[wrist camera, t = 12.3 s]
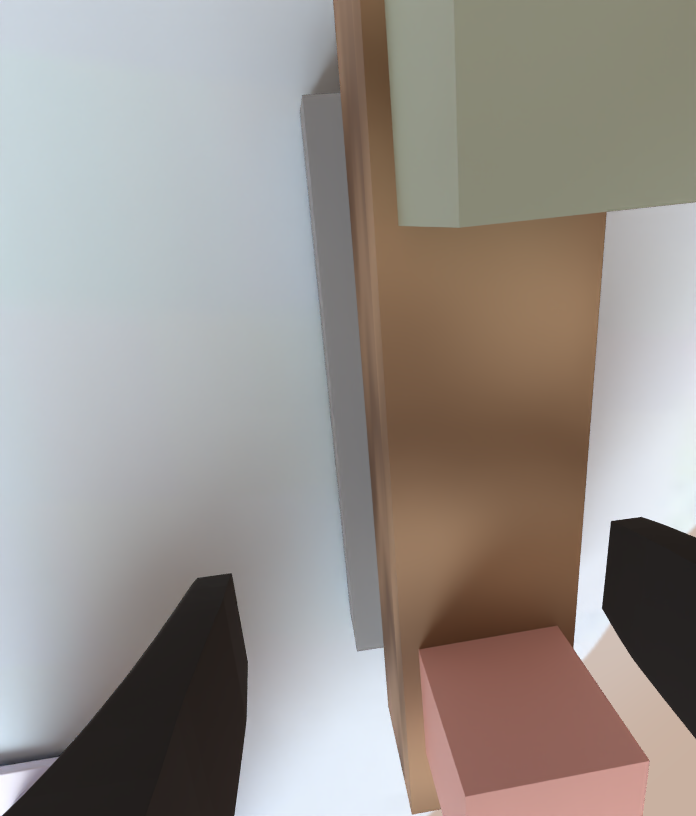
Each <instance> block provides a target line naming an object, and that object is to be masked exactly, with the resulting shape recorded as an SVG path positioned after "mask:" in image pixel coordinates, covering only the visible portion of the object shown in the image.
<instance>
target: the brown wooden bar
mask: <svg viewBox="0 0 696 816" xmlns="http://www.w3.org/2000/svg"><path fill="white" fill-rule="evenodd" d="M333 5H334V17H335V30H336V43H337V56H338V68H339V81H340V94H341V107H342V120H343V132H344V145H345V158H346V171H347V183H348V196H349V209H350V222H351V235H352V247H353V260H354V273H355V286H356V299H357V311H358V324H359V337H360V350H361V362H362V375H363V388H364V401H365V414H366V426H367V439H368V452H369V465H370V477H371V490H372V503H373V516H374V529H375V541H376V554H377V567H378V580H379V593H380V605H381V618H382V631H383V644H384V656H385V669H386V682H387V695H388V707H389V711H390V716H391V721H392V725H393V730H394V734H395V739H396V744H397V748H398V753H399V757H400V762H401V766H402V771H403V776H404V780H405V785H406V789H407V794H408V798H409V803H410V808H411V812H412V814H417V813H423V812H428V811H434V810H439V809H441V807H440V803H439V799H438V796H437V792H436V788H435V784H434V781H433V777H432V773H431V770H430V766H429V762H428V759H427V755H426V746H425V732H424V718H423V705H422V691H421V677H420V663H419V649H424V648H430V647H436V646H442V645H448V644H453V643H459V642H465V641H471V640H477V639H482V638H488V637H494V636H500V635H506V634H512V633H517V632H523V631H529V630H535V629H541V628H546V627H552V626H558V627H559V629H560V630H561V632H562V633H563V635H564V636H565V637H566V639H567V640H568V642H569V643H570V645H571V646H572V648H573V645H574V632H575V619H576V606H577V593H578V580H579V566H580V553H581V540H582V527H583V514H584V501H585V488H586V475H587V461H588V448H589V435H590V422H591V409H592V396H593V383H594V370H595V356H596V343H597V330H598V317H599V304H600V291H601V278H602V265H603V251H604V238H605V225H606V212H600V213H591V214H582V215H572V216H563V217H554V218H545V219H535V220H526V221H517V222H508V223H498V224H489V225H480V226H471V227H461V228H452V227H417V226H398V210H397V194H396V178H395V162H394V145H393V129H392V113H391V97H390V81H389V65H388V49H387V33H386V17H385V1H384V0H333Z"/></svg>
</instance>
